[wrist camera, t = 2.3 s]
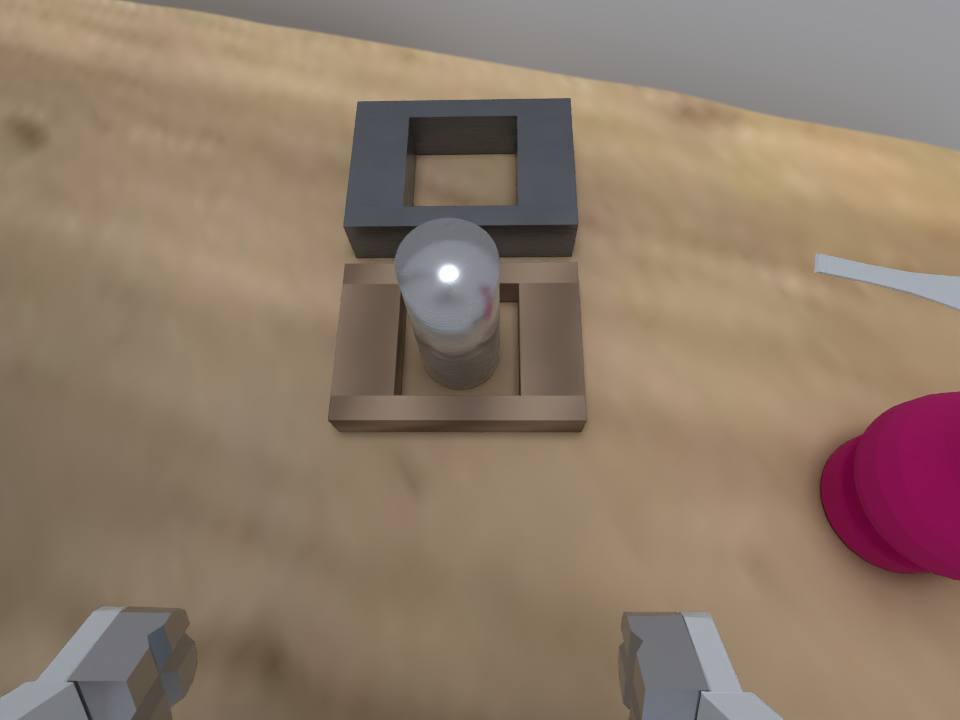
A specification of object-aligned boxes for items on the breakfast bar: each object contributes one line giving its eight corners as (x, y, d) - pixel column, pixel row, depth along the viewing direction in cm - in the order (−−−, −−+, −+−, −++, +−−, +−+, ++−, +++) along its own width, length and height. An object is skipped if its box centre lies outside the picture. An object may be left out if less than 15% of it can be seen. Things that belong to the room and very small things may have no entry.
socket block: (356, 257, 33) (343, 226, 30) (368, 139, 36) (357, 101, 34) (571, 256, 33) (578, 224, 30) (564, 137, 36) (570, 98, 33)
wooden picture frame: (338, 431, 30) (327, 420, 28) (353, 282, 33) (345, 263, 31) (581, 431, 29) (586, 420, 27) (572, 281, 32) (577, 262, 30)
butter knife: (1043, 337, 30) (1041, 288, 31) (580, 235, 33) (591, 193, 34) (1036, 340, 31) (1033, 292, 32) (579, 239, 34) (590, 197, 35)
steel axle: (421, 389, 30) (391, 309, 22) (424, 318, 32) (397, 218, 23) (499, 389, 30) (499, 308, 22) (499, 318, 32) (499, 217, 23)
